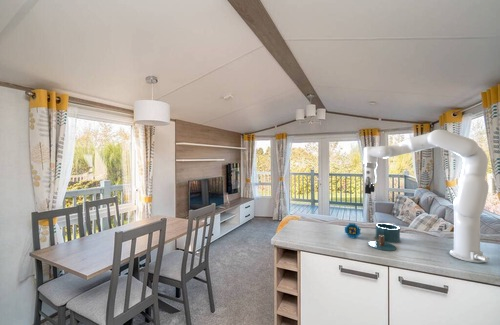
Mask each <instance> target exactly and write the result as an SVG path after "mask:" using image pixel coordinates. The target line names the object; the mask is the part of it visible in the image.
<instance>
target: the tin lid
mask: <svg viewBox="0 0 500 325" xmlns="http://www.w3.org/2000/svg"><path fill="white" fill-rule="evenodd" d="M367 244H368V246H369V247H370V248H373V249H375V250H378V251H384V252H393V251H396V249H397V246H395V245H394V244H393V243H391V242H385V236H384V235H379V240H369V241H368V242H367Z"/></svg>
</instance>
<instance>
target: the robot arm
mask: <svg viewBox="0 0 500 325" xmlns="http://www.w3.org/2000/svg"><path fill="white" fill-rule="evenodd" d="M434 148H441V149H443V150H446V151H448V152H451V153H454V154H455V155H457V156H459V157H461V158H462V162H463V164H462V169H461V173H460V177H459V179H458V186H459V188H458V193H457V196H456V197H455V198H454V200H453V203H452V204H453V206H452V207H453V208H452V209H453V249H451V250H450V251H449V255H450V256H452V257H453V258H454V259H455V258H456V259H458V260H461V261H464V262H469V263H476V264H477V263H478V264H481V263H487V262H489V260H490V258H489V257H488V256H486V255H484V253H483V251H481V215H482V214H483V212H484V210H485V207H486V202H487V198H488V194H489V183H488V181H487V180H486V176H487V172H488V164H489V159H488V155H487V153H486V151H484V149H483V148H482V147H480V145H479V144H478V143H477V141H476V140H474V139H472V138H469V137H466V136H464V135H460V134H458V133H454V132H451V131H448V130H445V129H439V128H438V129H435V130H432V131H431V132H426V133H423V134H420V135H416V136H411V137H409V138H406V139H404V140H403V141H400V142H397V143H393V144H390V145H389V144H388V145H377V146H364V147H363V159H362V160H363V165H362V166H363V169H364V183H365V184H364V194H367V195H368V194H369V195H371V194H372V193H375V184H377V171H376V169H378V158H380V159H389V158H393V157H397V156H402V155H406V154H413V153H416V152H421V151H425V150H430V149H434Z"/></svg>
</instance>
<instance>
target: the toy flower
mask: <svg viewBox="0 0 500 325" xmlns="http://www.w3.org/2000/svg"><path fill="white" fill-rule="evenodd" d="M361 229H362V228H360V226H358V224H356V223H353V222H349V223H348V224H347V225H345V226H344V233H345V234H346V235H347V236H348V237H349V238H351V239H356V238H358V237H360V235H362V233H361Z"/></svg>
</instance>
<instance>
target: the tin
mask: <svg viewBox="0 0 500 325" xmlns="http://www.w3.org/2000/svg"><path fill="white" fill-rule="evenodd" d="M379 235H384V236H385V242H387V243H390V244H396V243H400V241H401V239H400V238H401V228H400V226H398V225H395V224H391V223H384V222H383V223H381V222H379V223H376V224H375V238H376V239H377V241H379Z"/></svg>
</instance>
